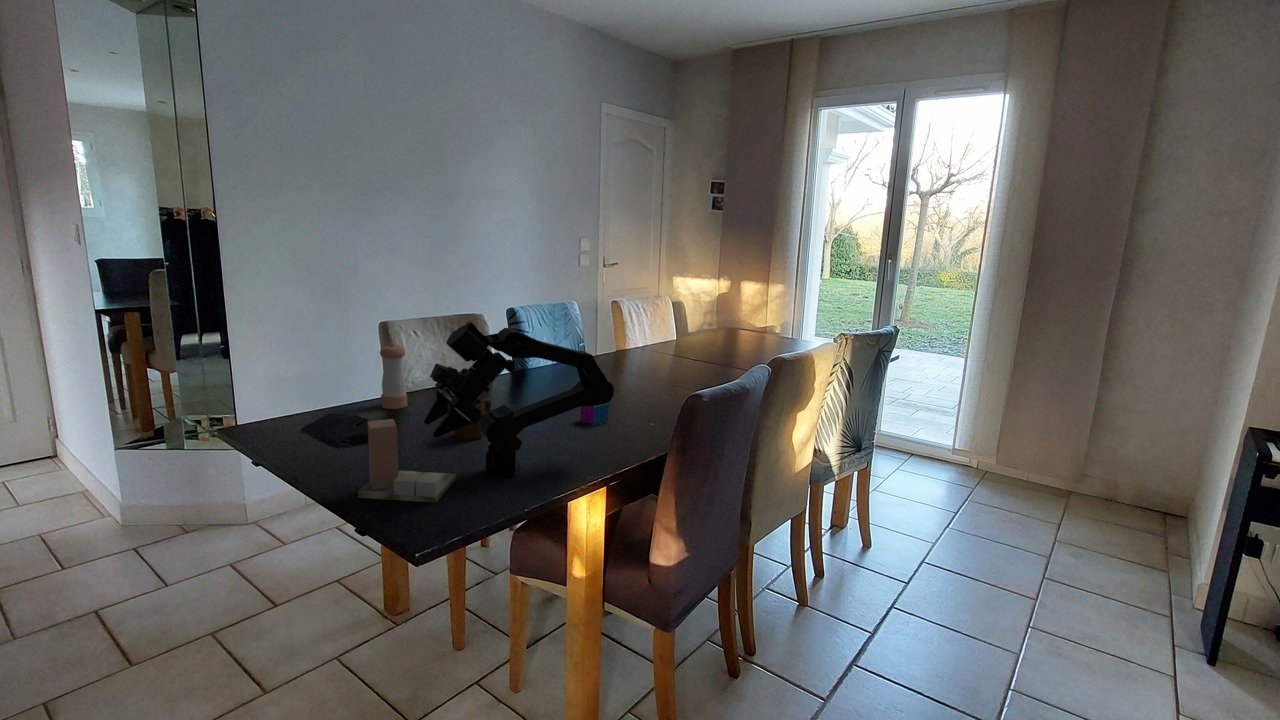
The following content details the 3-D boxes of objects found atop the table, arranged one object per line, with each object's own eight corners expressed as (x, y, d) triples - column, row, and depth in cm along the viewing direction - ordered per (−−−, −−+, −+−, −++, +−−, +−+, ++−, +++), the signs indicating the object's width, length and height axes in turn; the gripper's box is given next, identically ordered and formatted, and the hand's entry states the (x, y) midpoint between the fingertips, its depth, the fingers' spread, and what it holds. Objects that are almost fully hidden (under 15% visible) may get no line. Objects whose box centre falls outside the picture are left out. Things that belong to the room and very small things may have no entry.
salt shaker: (376, 406, 186) (373, 343, 182) (393, 401, 193) (391, 340, 189) (395, 410, 184) (393, 346, 180) (412, 404, 191) (410, 342, 187)
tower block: (395, 477, 133) (393, 418, 131) (398, 486, 129) (396, 425, 126) (370, 480, 131) (367, 421, 128) (372, 489, 127) (370, 428, 124)
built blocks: (442, 489, 129) (442, 475, 129) (435, 497, 125) (435, 483, 125) (402, 486, 130) (402, 472, 129) (394, 494, 126) (393, 480, 125)
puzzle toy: (608, 422, 183) (608, 403, 181) (593, 426, 178) (594, 406, 177) (594, 417, 186) (595, 399, 185) (580, 421, 182) (580, 402, 181)
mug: (479, 425, 174) (479, 393, 172) (501, 431, 170) (501, 397, 168) (447, 437, 163) (447, 402, 161) (469, 443, 160) (469, 407, 158)
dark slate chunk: (349, 419, 175) (348, 403, 175) (398, 436, 164) (397, 419, 163) (294, 432, 163) (293, 415, 162) (343, 452, 151) (342, 433, 150)
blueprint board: (455, 479, 137) (455, 473, 137) (435, 502, 126) (435, 496, 125) (384, 474, 138) (384, 468, 138) (357, 497, 126) (357, 491, 126)
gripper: (443, 342, 139) (393, 395, 136) (465, 359, 124) (408, 419, 121) (479, 374, 145) (431, 425, 142) (503, 394, 129) (450, 452, 126)
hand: (429, 429), depth 132 cm, fingers open, 9 cm apart
